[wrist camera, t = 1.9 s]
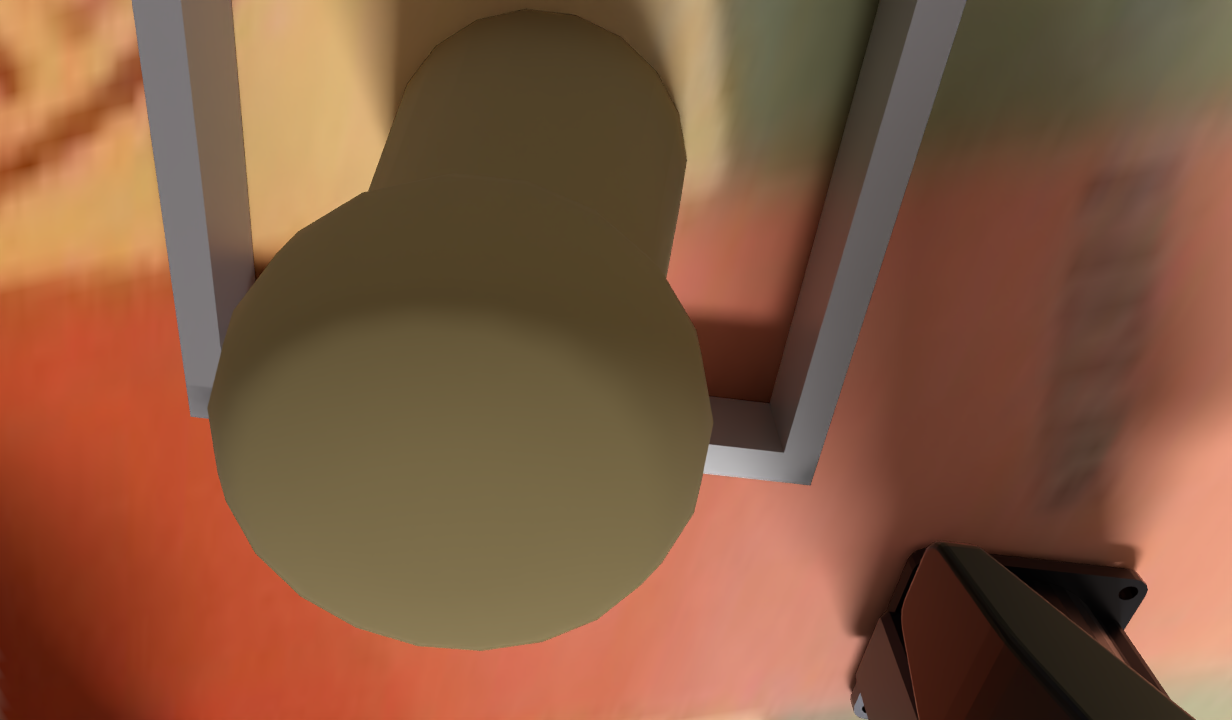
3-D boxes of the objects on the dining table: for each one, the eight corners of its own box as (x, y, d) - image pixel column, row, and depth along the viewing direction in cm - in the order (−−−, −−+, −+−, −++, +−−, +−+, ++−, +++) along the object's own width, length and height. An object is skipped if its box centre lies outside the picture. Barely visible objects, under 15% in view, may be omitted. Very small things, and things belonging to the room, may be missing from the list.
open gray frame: (953, -101, 15) (998, -99, 13) (794, 433, 20) (810, 485, 19) (162, -229, 14) (97, -245, 12) (228, 369, 19) (190, 416, 18)
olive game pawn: (418, 304, 19) (210, 746, 9) (366, 16, 16) (-28, 223, 6) (687, 294, 18) (763, 730, 9) (686, 0, 15) (798, 187, 6)
